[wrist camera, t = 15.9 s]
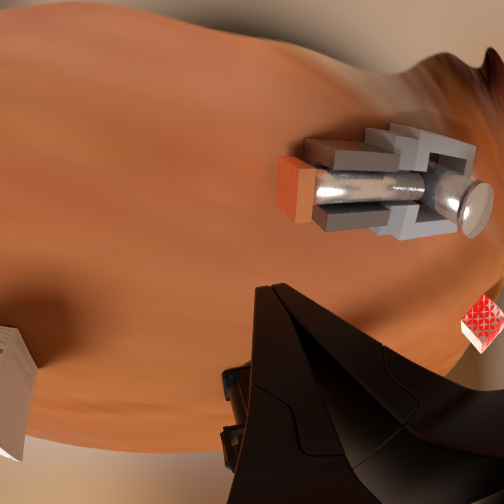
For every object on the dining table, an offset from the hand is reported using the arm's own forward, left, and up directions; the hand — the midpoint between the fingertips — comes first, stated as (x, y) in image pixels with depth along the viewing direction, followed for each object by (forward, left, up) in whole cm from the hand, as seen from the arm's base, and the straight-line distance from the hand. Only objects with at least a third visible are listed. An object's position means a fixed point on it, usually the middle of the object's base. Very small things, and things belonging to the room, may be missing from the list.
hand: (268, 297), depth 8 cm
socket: (0, -17, -12) cm, 21 cm away
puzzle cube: (-29, -53, -12) cm, 61 cm away
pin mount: (0, -9, -12) cm, 15 cm away
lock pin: (0, -10, -11) cm, 14 cm away
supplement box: (-14, +25, -12) cm, 32 cm away
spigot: (0, -19, -12) cm, 22 cm away
